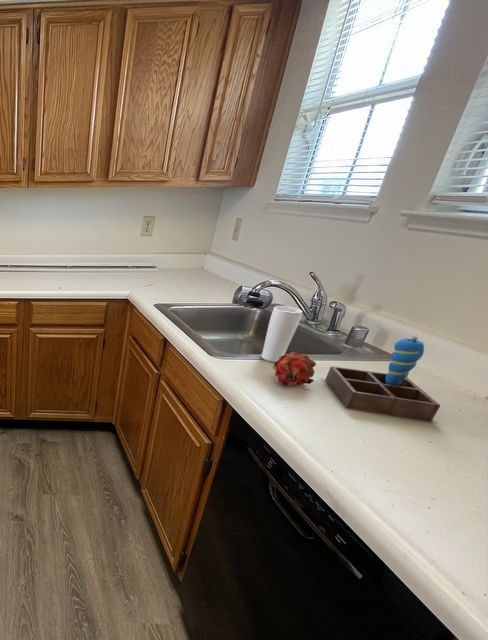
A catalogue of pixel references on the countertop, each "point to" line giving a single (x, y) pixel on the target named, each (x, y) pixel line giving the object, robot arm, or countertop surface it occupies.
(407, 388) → the divided tray
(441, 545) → the countertop surface
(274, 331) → the drinking glass
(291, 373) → the dragon fruit
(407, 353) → the ornament
